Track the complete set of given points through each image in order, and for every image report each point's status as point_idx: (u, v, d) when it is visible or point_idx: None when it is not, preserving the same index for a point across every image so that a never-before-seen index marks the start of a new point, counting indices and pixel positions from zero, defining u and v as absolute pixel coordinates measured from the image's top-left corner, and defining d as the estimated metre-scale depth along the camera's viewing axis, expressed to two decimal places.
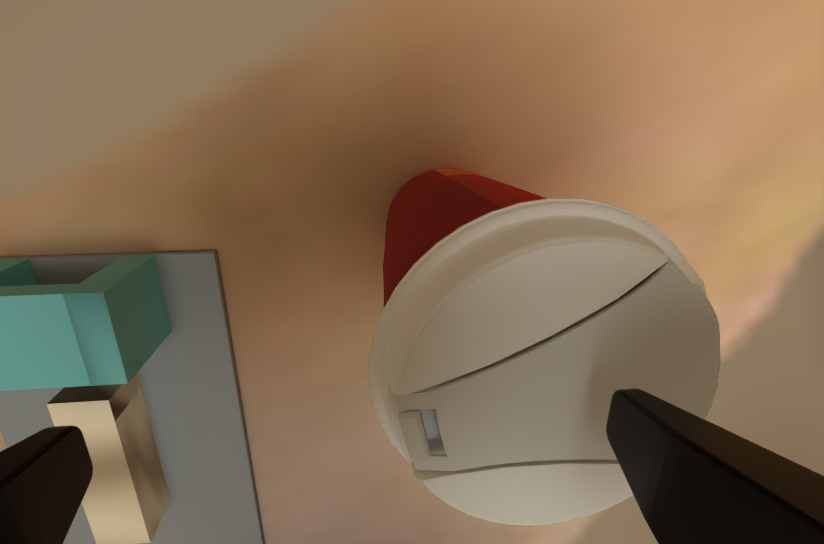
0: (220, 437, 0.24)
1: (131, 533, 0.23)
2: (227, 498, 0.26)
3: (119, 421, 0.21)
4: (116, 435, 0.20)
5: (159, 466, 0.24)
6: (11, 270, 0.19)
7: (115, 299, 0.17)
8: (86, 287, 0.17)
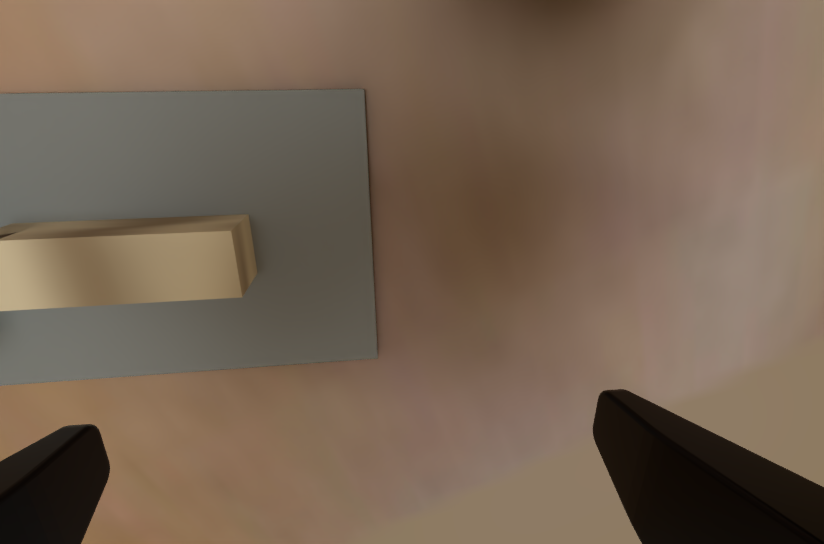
0: (117, 129, 0.16)
1: (213, 252, 0.16)
2: (242, 134, 0.17)
3: (9, 238, 0.15)
4: (20, 243, 0.15)
5: (176, 218, 0.18)
6: None
7: None
8: None
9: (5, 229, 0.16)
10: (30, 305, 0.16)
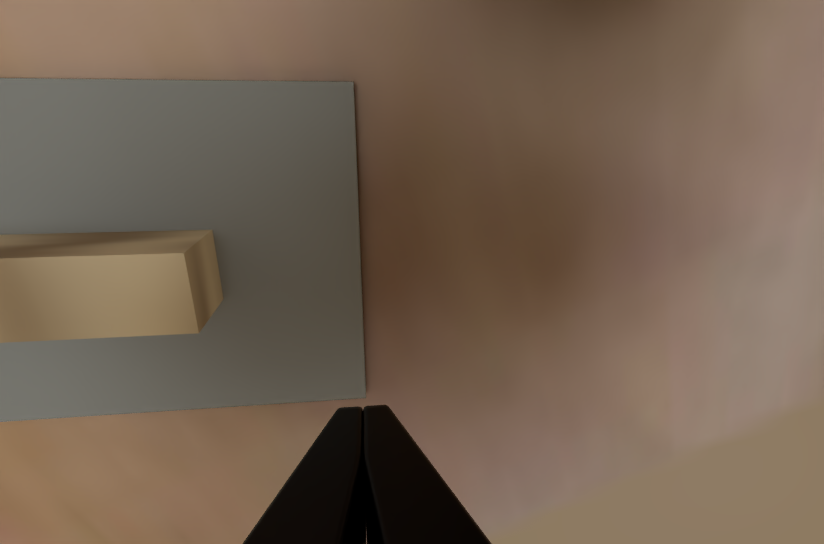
0: (48, 124, 0.13)
1: (161, 279, 0.13)
2: (204, 134, 0.14)
3: None
4: None
5: (123, 233, 0.14)
6: None
7: None
8: None
9: None
10: None
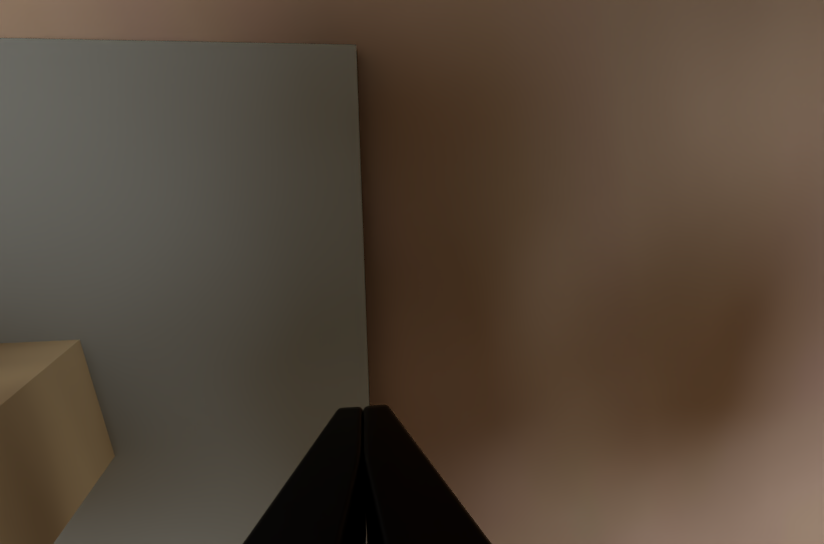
0: None
1: None
2: (40, 155, 0.07)
3: None
4: None
5: None
6: None
7: None
8: None
9: None
10: None
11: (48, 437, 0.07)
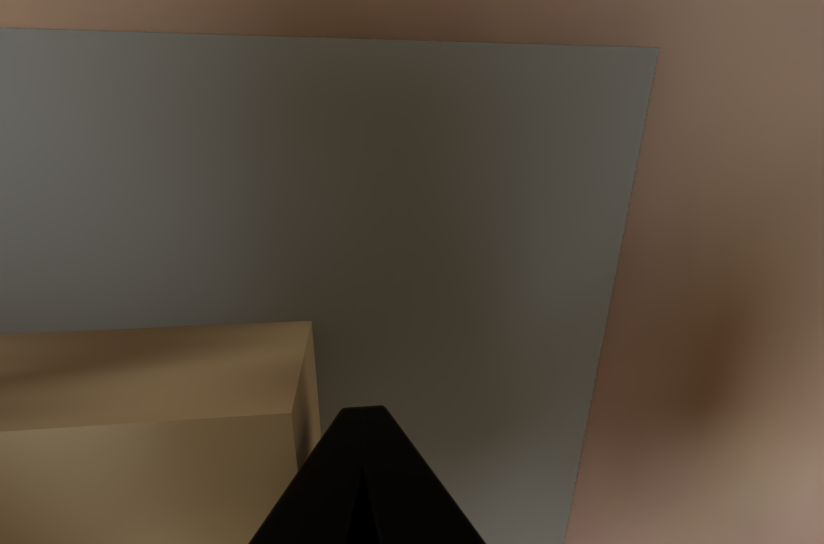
0: (61, 127, 0.07)
1: (239, 463, 0.06)
2: (365, 147, 0.07)
3: None
4: None
5: (148, 332, 0.08)
6: None
7: None
8: None
9: None
10: None
11: (308, 410, 0.07)
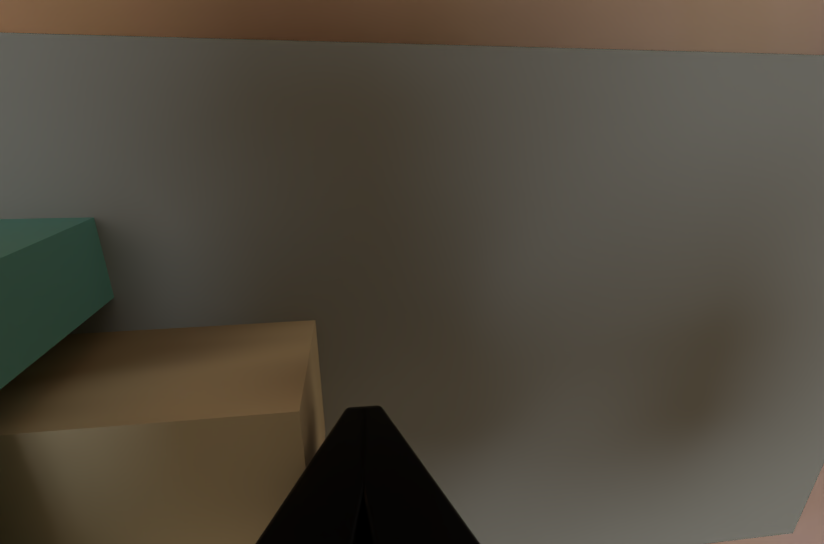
0: (507, 133, 0.07)
1: (247, 463, 0.06)
2: (744, 149, 0.08)
3: None
4: None
5: (152, 334, 0.08)
6: None
7: None
8: None
9: None
10: None
11: (314, 409, 0.07)
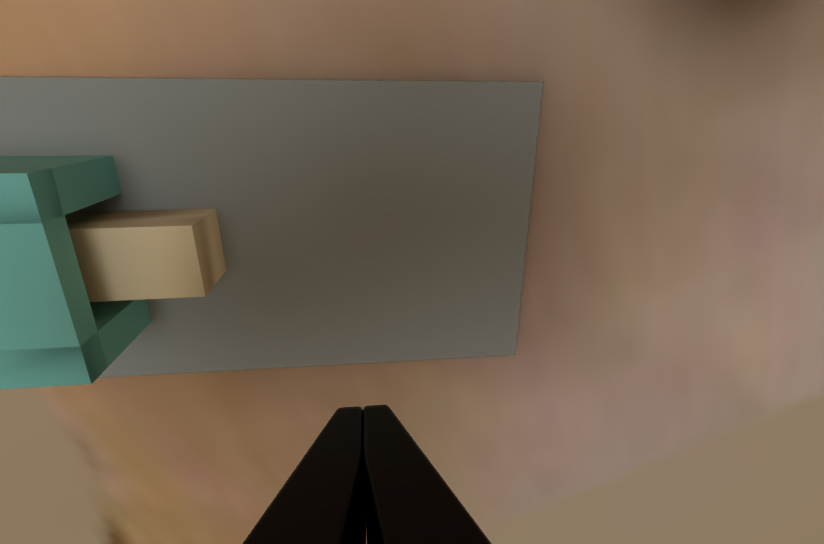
0: (297, 117, 0.16)
1: (172, 248, 0.15)
2: (418, 125, 0.17)
3: None
4: None
5: (138, 211, 0.17)
6: None
7: None
8: None
9: None
10: None
11: (209, 242, 0.16)
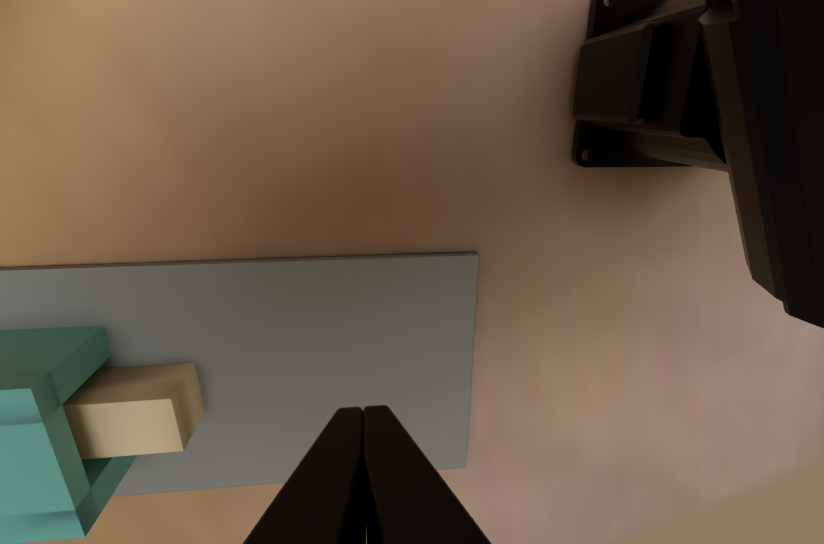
0: (264, 290, 0.19)
1: (155, 416, 0.17)
2: (370, 292, 0.19)
3: None
4: None
5: (126, 369, 0.19)
6: None
7: None
8: None
9: None
10: None
11: (188, 399, 0.19)
